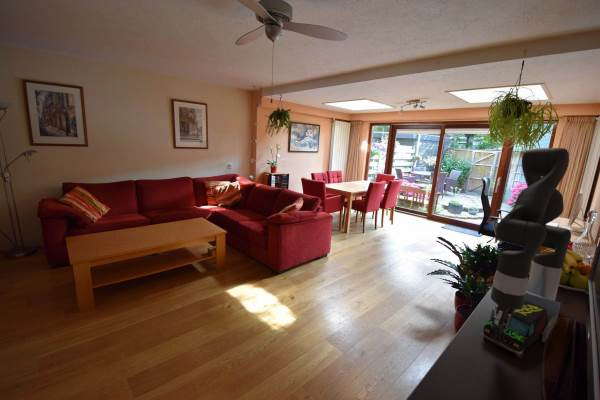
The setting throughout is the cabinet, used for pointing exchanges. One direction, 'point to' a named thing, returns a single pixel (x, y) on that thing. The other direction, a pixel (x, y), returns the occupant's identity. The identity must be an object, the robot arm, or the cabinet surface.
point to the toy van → (520, 328)
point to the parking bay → (548, 304)
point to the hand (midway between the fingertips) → (498, 341)
